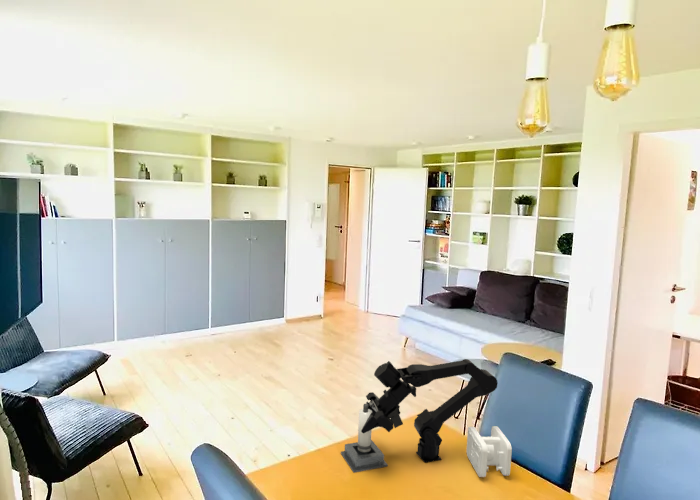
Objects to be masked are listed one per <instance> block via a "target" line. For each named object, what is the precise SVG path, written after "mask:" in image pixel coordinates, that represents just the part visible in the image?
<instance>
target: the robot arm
mask: <svg viewBox="0 0 700 500" xmlns="http://www.w3.org/2000/svg"><path fill="white" fill-rule="evenodd" d="M463 375H469V376H471V377H470V379H469V381H468V383H467V384H466V385H465V386H463V388H462V389H460V390H459V391H458V392H457V393H456V394H454V395H453V396H451V397H450V398H449V399H447V400H446V401H445V402H443V403H442V404H441V405H440V406H438V407H437V408H435V410H430V411H429V410H428V409H427V408H424V410H422V412H421V413H419V414H416V416H417V417H415V419H414V422H413V427H414V429H415V430H416V432H417V433H418V434H417V435H418V436H419V437H420V438H419V441H418V444H417V450H416V451H415V453H416V455H417V456H418V457H419V459H421V460H422V461H423V462H424V463H425V464H427V463H430V462H431V463H432V462H437V461H441V460H442V457H441V456H440V446H441V444H442V442H443V439H442V437H441V436H440V434H439V432H440V430H441V428H442V426H443V424H444V423H445V422H446V421H448V420H450V419H451V418H452V417H453V416H454V415H456V413H458V412H460V411H461V410H463V408H464V407H466V406H468V404H470V403H471V402H472V401H474V400H475V399H476V398H480V397H484V396H487V395H489V394H491V393H492V392H494V391H496V389H498V379H497V377H496V376H494V375H493V374H492V373H491V372H490V371H488V370H486V369H484V368H479V367H478V366H477V365H475V363H474V362H472V361H471V360H470V359H465V358H464V359H462V360H458V361H452V362H446V363H445V362H444V363H440V364H433V365H429V364H422V363H421V364H420V363H418V364H415V363H413V364H410V365H408V366H407V367H402V368H401V367H400V368H396V367H395V366H394V365H393V363H392V362H391V361H389V360H388V361H387V362H384V363H382V364H381V365H379V366H377V368H376V369H375V371H374V375H373V376H374V377H376V378H377V380H378V381H379V382H380V383H381V384H382V385H383V386H384V387H385V388H388V389H384V390H383V391H382V392H383V394H382V395H381V396H380V397H378V395H376V394H375V393H374V392H368V393H367V395H365V398H366V400H367V401H366V402H365V404H368V409H370V410H371V411H372V413H371V414H370V416H369V418H368V419H367V421H366V423H365V425H364V426H363V428H362V430H361V432H362V433H366V432H368V431H370V430H373V429H374V430H375V429H376V428H383V429H384V430H386V432H388V433H390V432H391V431H392V430H393V429H396V428H398V427H400V426H403V425H404V422H403V420H402V418H401V416H400V415H401V411H400V407H401V406H400V404H401V403H402V402H403V401H404V399H406V398H407V397H408V396H409V395H410V394H411V396H413V397H414V398H416V397H417V388H420V387H423V386H426V385H428V384H430V383H432V382H433V381H435V380H441V379H445V378H451V377H457V376H463Z"/></svg>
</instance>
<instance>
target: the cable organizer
mask: <svg viewBox="0 0 700 500" xmlns="http://www.w3.org/2000/svg"><path fill="white" fill-rule="evenodd" d="M466 438H467V439H466V455H467V458H468V460H469V462H470V463H471V465H472V467H473V469H474V471H475V472H476V474H477V476H478V477H479V478H486V477H487V472H489V468H490V467H489V466H495V467H496V468H495V469H496V472H499V471H500V472H501V474H502V476H508V477H509V476H510V475H511V464H512V453H513V452H512V451H513V448H512V445H511V442H510V441H509V439H508V438H507V437H506V435H505V434H504V432H503V431H502V430H501V429H500V427H499V426H497V425H496V426H495V425H493V426H491V432H490V436H489V435H488V436H482V435H480V433H479V432H478V430H477V428H476V427H475V426H468V427H467V437H466Z"/></svg>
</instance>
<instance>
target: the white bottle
mask: <svg viewBox="0 0 700 500" xmlns="http://www.w3.org/2000/svg"><path fill="white" fill-rule="evenodd" d="M371 413H372V411H371V410H370V409H368V404H366V403H363V408H361V409H359V410H358V429H357V431H358V433H357V442H358V444H357V446H358V450H359V451H360V452H369V451H370V450H371V440H372V430H373V429H372V430H370V431H368V432H366V433H362V432H361V430H362V428H363V426H364V425H365V423H366V421H367V419H368V418H369V416H370V414H371Z"/></svg>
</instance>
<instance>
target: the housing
mask: <svg viewBox="0 0 700 500" xmlns="http://www.w3.org/2000/svg"><path fill="white" fill-rule="evenodd" d="M357 444H358V441H357V442H352V443H345V444H344V450H342V451H340V454H341V457H343V459H344V460H345V462H346V463H347V465H348V466H349V468H350V469H351V471H352V472H353V473H354V474H355V473H359V472H360V473H361V472H364V471H371V470H376V469H381V468H387V467H388V466H389V465H388V463H387V462H386V461H385V454H384V453H383V451H381V449H380V448H379V447H378V445H377V444H375V441H373V439H371V450H370V451H369V452H360V451H359V450H358V446H357Z"/></svg>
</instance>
